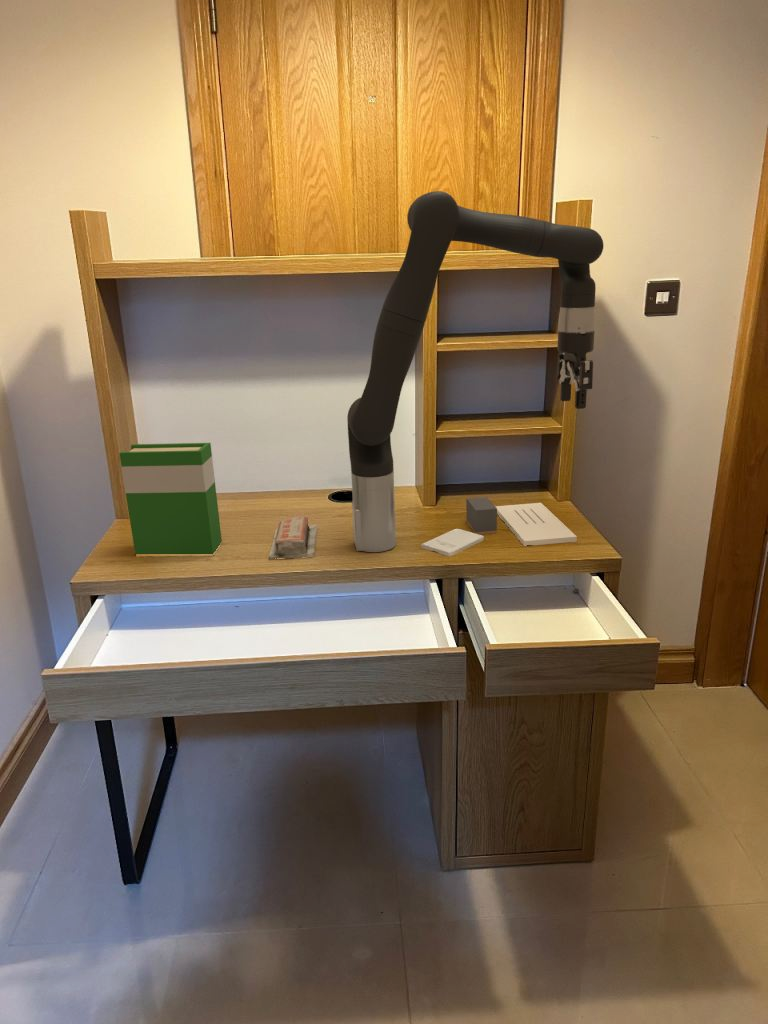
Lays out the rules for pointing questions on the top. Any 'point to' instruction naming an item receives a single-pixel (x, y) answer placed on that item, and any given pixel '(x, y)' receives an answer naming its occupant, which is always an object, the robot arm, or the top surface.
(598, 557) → the top surface
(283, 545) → the packaged product
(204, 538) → the hardback book
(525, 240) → the robot arm
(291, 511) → the top surface
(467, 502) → the block
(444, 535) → the external hard drive
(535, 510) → the board
